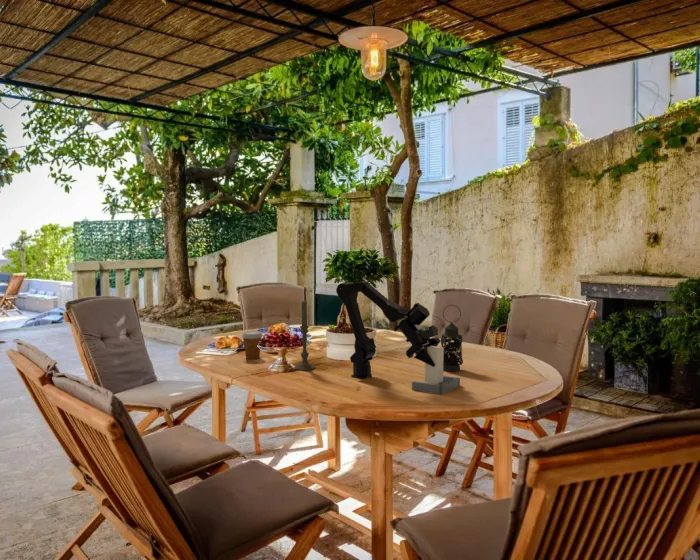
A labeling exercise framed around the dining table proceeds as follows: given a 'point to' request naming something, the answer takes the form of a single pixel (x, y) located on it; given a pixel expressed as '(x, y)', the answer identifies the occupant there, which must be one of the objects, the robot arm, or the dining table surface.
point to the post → (435, 372)
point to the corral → (446, 385)
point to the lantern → (452, 347)
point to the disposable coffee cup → (252, 344)
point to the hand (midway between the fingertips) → (437, 364)
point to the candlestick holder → (304, 341)
